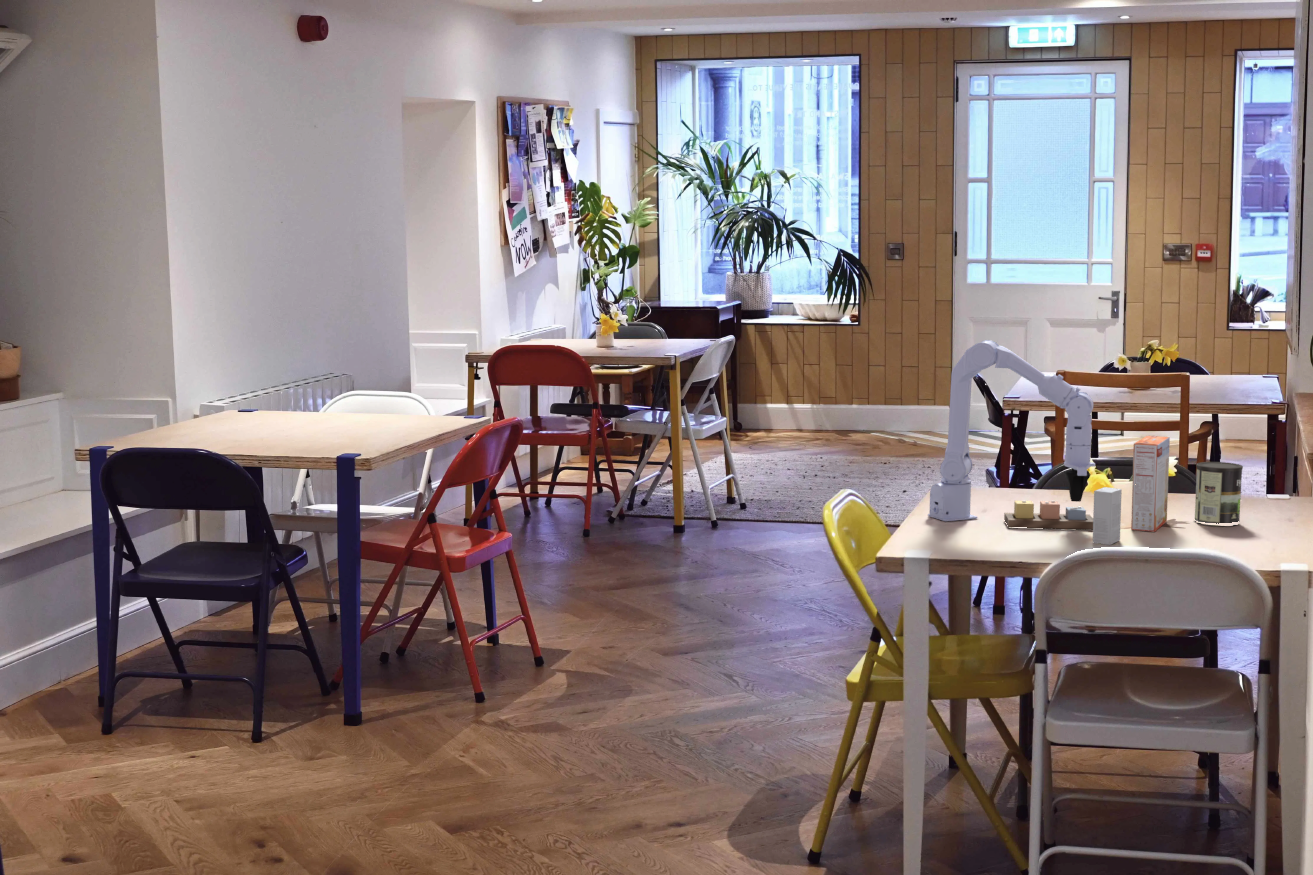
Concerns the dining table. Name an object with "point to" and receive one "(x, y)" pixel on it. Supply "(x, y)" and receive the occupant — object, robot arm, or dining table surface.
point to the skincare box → (1107, 515)
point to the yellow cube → (1023, 509)
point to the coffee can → (1218, 492)
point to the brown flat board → (1048, 522)
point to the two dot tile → (1049, 509)
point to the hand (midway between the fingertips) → (1075, 501)
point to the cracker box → (1150, 483)
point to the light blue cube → (1075, 513)
